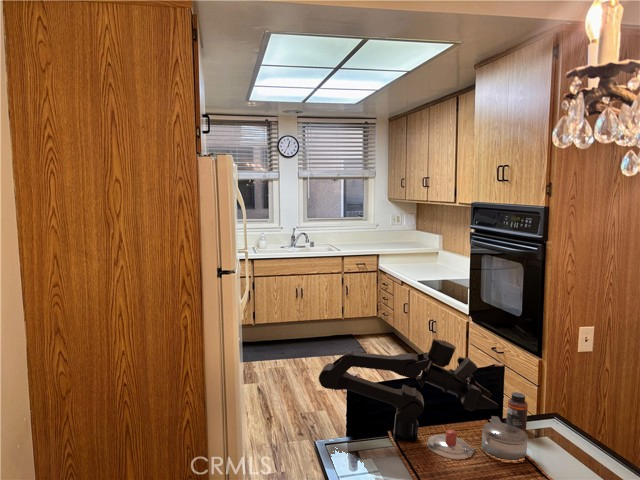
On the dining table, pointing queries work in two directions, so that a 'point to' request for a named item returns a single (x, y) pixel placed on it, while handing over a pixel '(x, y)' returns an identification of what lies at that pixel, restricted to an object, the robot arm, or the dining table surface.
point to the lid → (450, 446)
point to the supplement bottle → (517, 411)
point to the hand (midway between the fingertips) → (494, 400)
